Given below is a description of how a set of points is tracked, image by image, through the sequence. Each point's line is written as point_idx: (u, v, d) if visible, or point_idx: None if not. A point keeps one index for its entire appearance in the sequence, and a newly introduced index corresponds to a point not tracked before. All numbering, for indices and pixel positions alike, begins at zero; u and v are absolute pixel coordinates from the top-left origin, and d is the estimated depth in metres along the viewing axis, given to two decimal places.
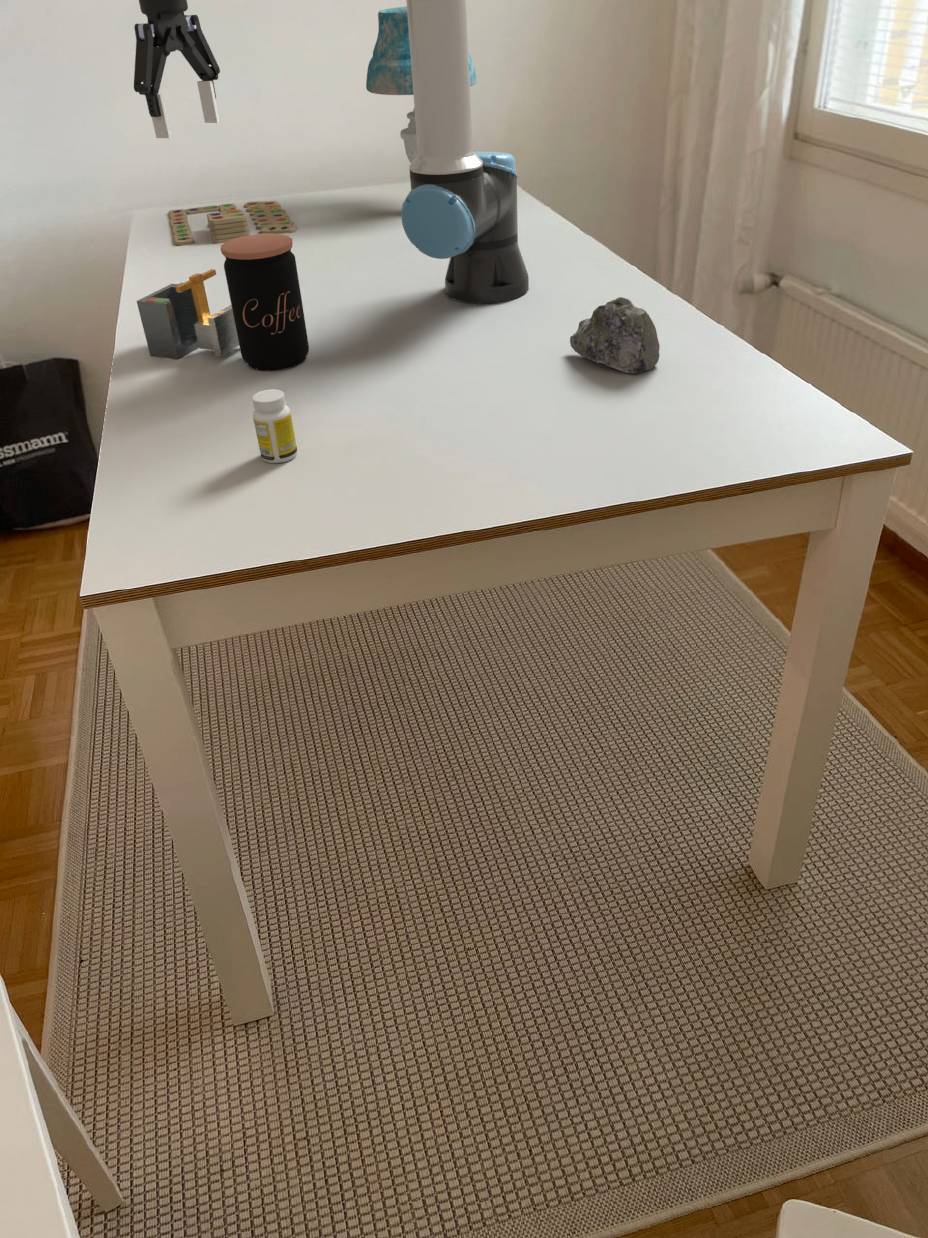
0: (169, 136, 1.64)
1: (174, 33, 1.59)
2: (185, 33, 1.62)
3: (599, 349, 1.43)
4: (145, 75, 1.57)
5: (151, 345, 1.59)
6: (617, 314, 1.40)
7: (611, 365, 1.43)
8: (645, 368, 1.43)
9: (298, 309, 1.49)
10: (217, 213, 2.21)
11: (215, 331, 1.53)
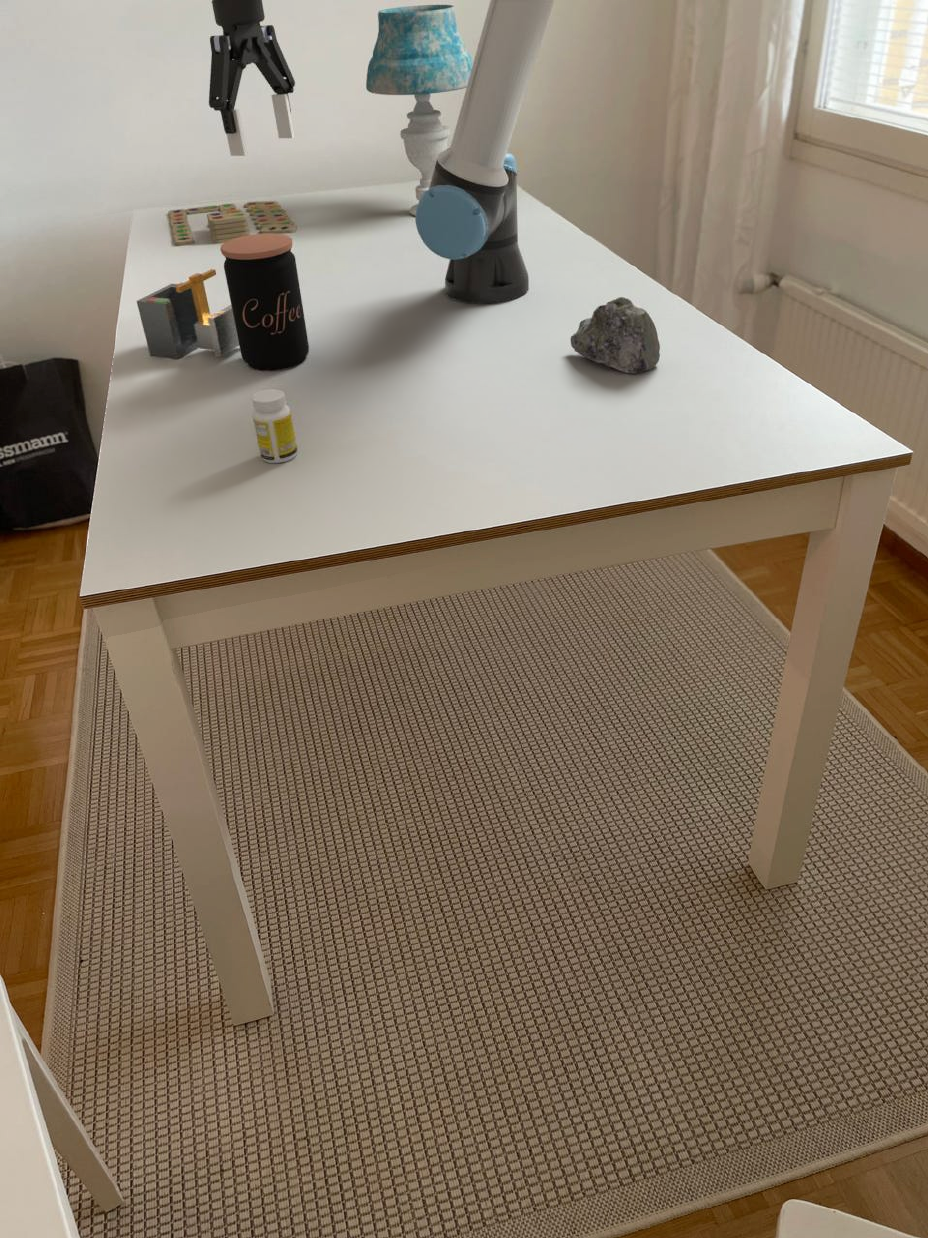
0: (244, 153, 1.55)
1: (250, 45, 1.51)
2: (261, 45, 1.53)
3: (599, 349, 1.43)
4: (221, 90, 1.48)
5: (151, 345, 1.59)
6: (618, 314, 1.40)
7: (611, 365, 1.43)
8: (645, 368, 1.43)
9: (298, 309, 1.49)
10: (217, 213, 2.21)
11: (215, 331, 1.53)
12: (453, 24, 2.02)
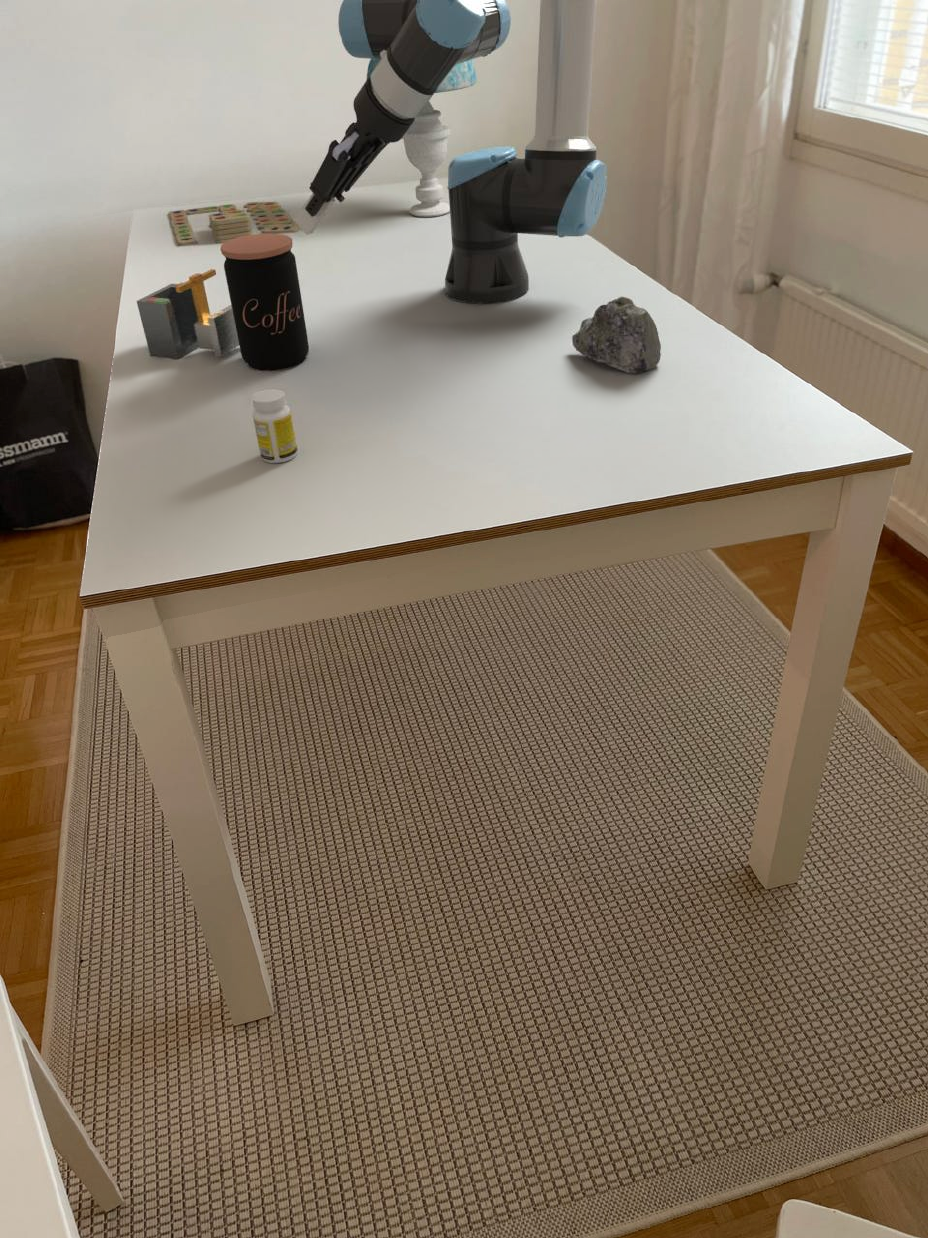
0: (308, 233, 1.41)
1: (371, 150, 1.29)
2: (377, 149, 1.31)
3: (600, 348, 1.43)
4: (325, 192, 1.32)
5: (151, 345, 1.59)
6: (618, 314, 1.40)
7: (612, 364, 1.43)
8: (646, 368, 1.43)
9: (298, 309, 1.49)
10: (219, 213, 2.21)
11: (215, 331, 1.53)
12: None
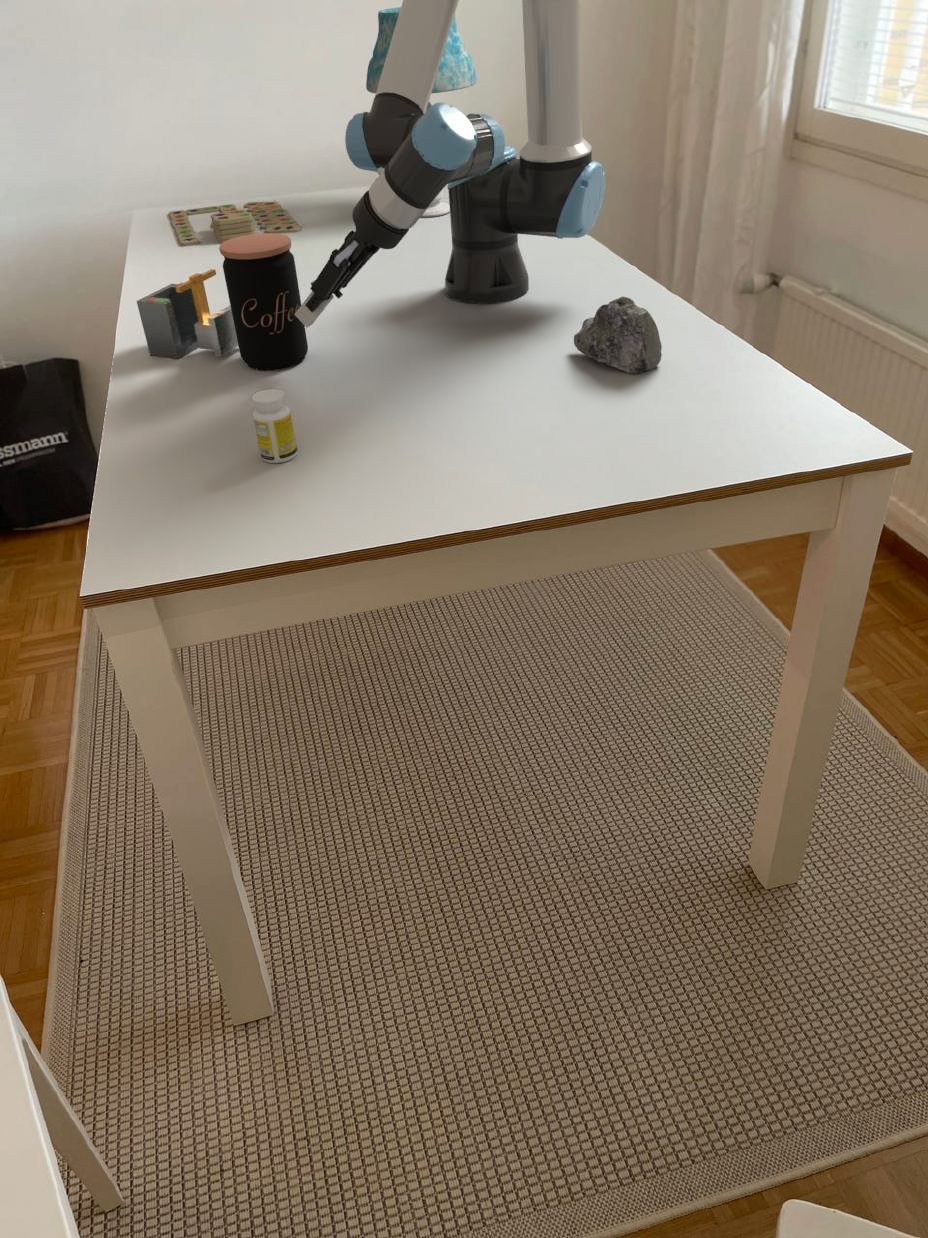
0: (308, 326, 1.49)
1: (369, 255, 1.38)
2: (374, 253, 1.39)
3: (601, 348, 1.43)
4: (326, 293, 1.40)
5: (151, 345, 1.59)
6: (619, 314, 1.40)
7: (612, 364, 1.43)
8: (646, 368, 1.43)
9: (296, 309, 1.49)
10: (221, 213, 2.21)
11: (215, 331, 1.53)
12: (453, 24, 2.02)
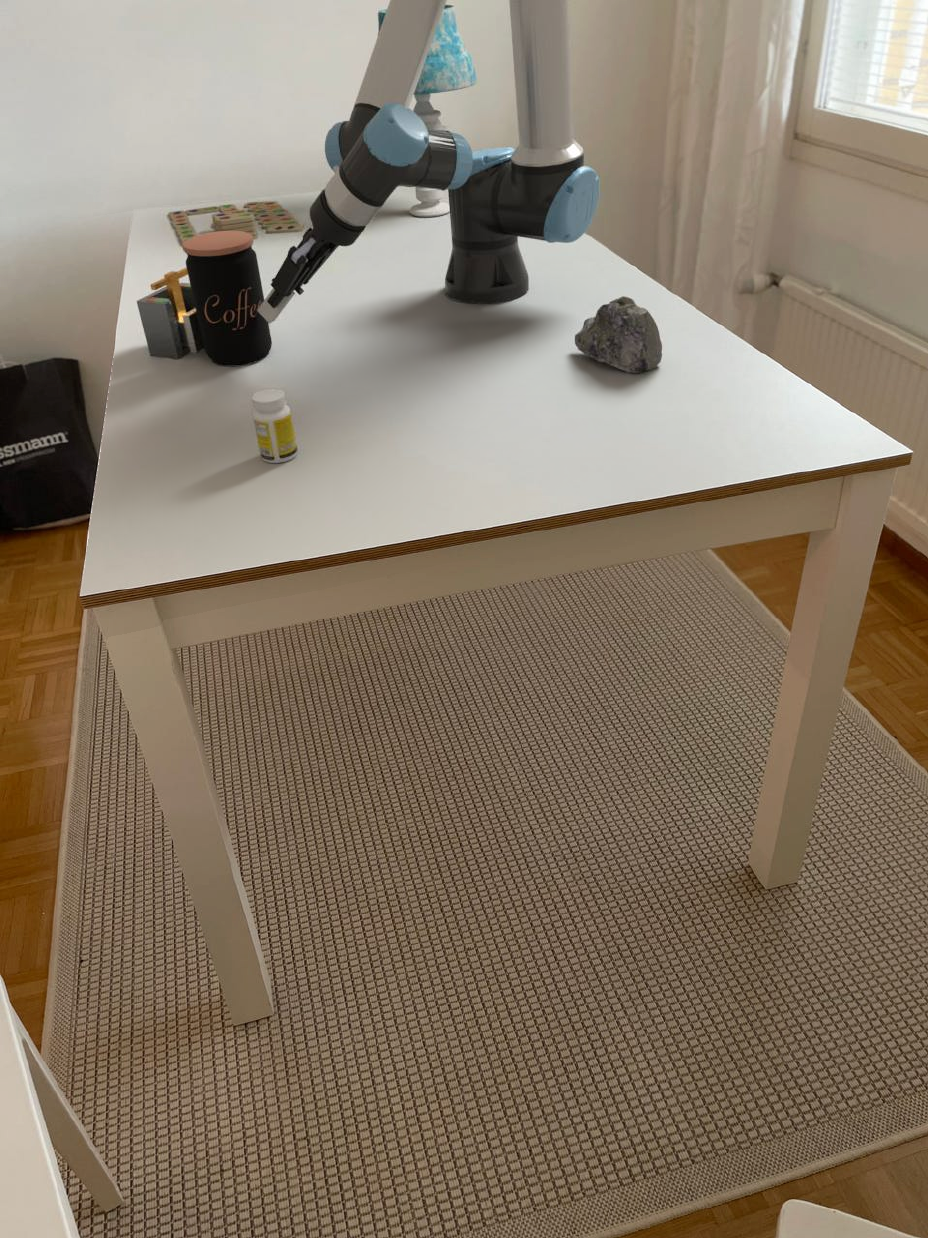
0: (270, 322, 1.51)
1: (327, 252, 1.40)
2: (332, 250, 1.42)
3: (601, 348, 1.43)
4: (285, 289, 1.43)
5: (151, 345, 1.59)
6: (619, 313, 1.41)
7: (613, 364, 1.43)
8: (647, 368, 1.43)
9: (259, 305, 1.52)
10: (222, 213, 2.21)
11: (190, 328, 1.54)
12: (453, 24, 2.02)
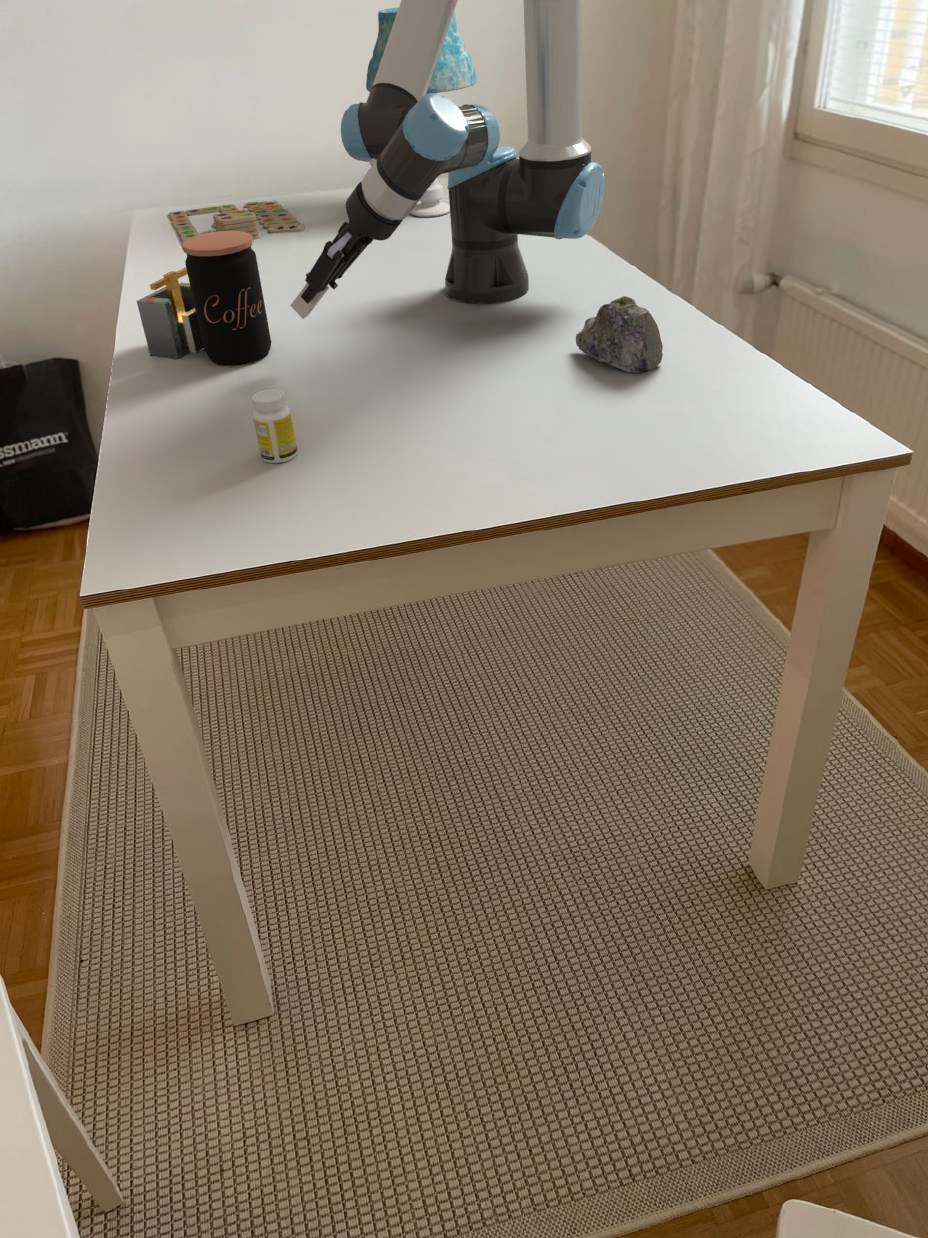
0: (304, 317, 1.49)
1: (363, 246, 1.38)
2: (368, 244, 1.39)
3: (601, 348, 1.43)
4: (320, 284, 1.41)
5: (151, 345, 1.59)
6: (620, 313, 1.41)
7: (613, 364, 1.43)
8: (647, 368, 1.43)
9: (259, 305, 1.52)
10: (223, 213, 2.21)
11: (189, 328, 1.55)
12: (453, 24, 2.02)
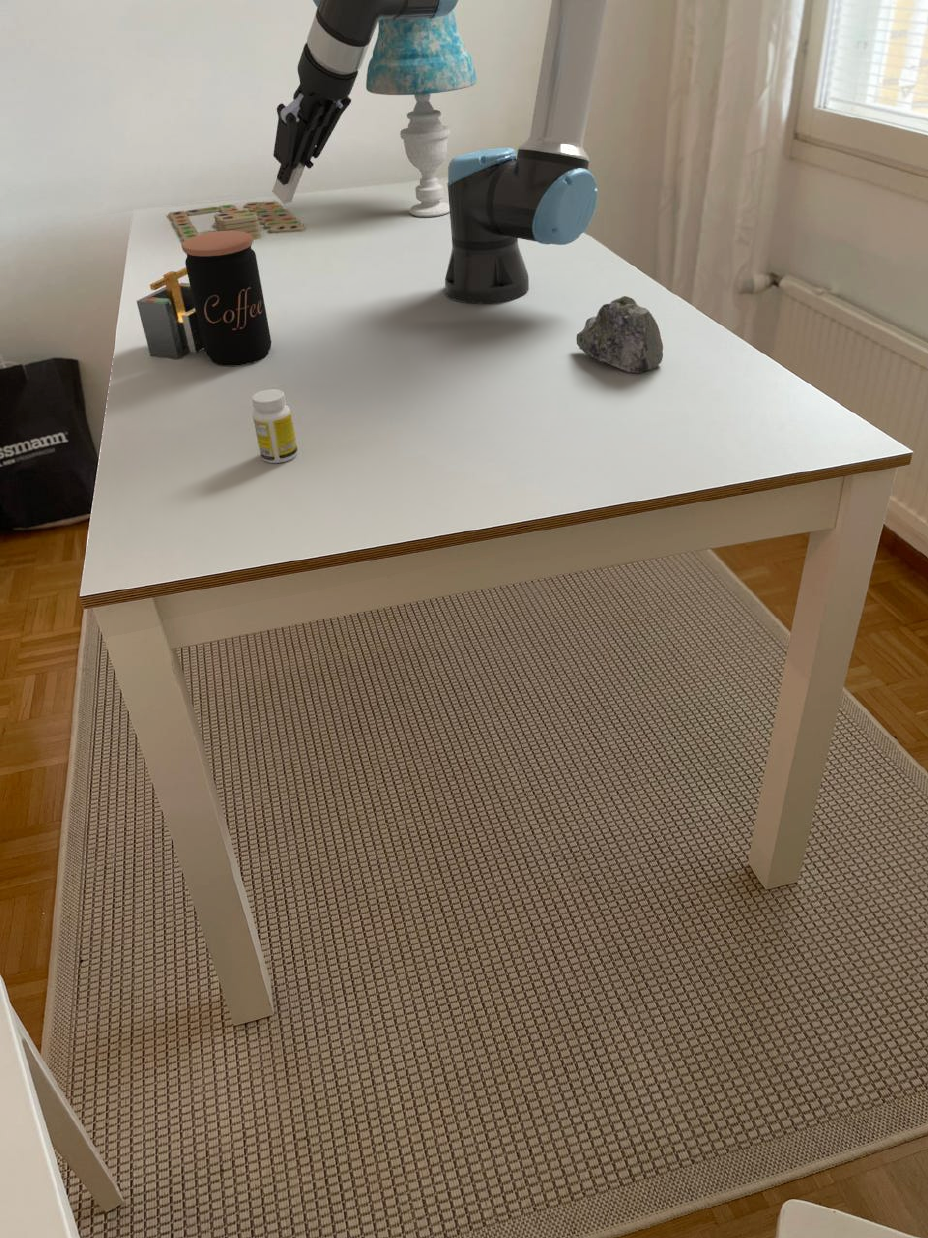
0: (285, 202, 1.47)
1: (321, 110, 1.33)
2: (330, 110, 1.35)
3: (602, 347, 1.44)
4: (285, 157, 1.37)
5: (151, 345, 1.59)
6: (620, 313, 1.41)
7: (613, 364, 1.43)
8: (647, 368, 1.43)
9: (259, 305, 1.52)
10: (224, 213, 2.21)
11: (189, 328, 1.55)
12: (453, 24, 2.02)
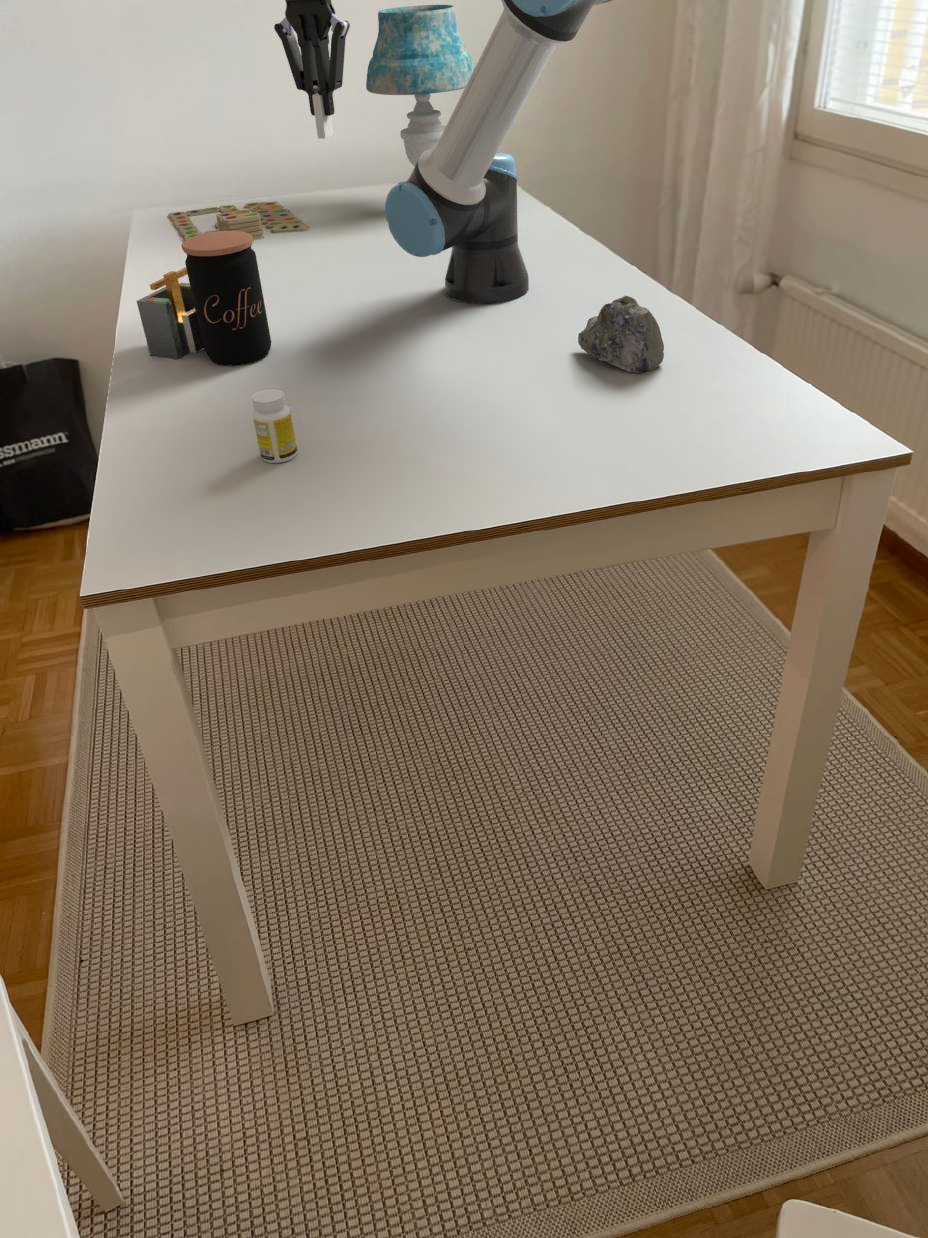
0: (318, 136, 1.65)
1: (299, 21, 1.55)
2: (310, 24, 1.54)
3: (603, 347, 1.44)
4: (293, 75, 1.61)
5: (151, 345, 1.59)
6: (621, 313, 1.41)
7: (614, 363, 1.44)
8: (648, 367, 1.43)
9: (259, 305, 1.52)
10: (226, 213, 2.21)
11: (189, 328, 1.55)
12: (453, 24, 2.02)
